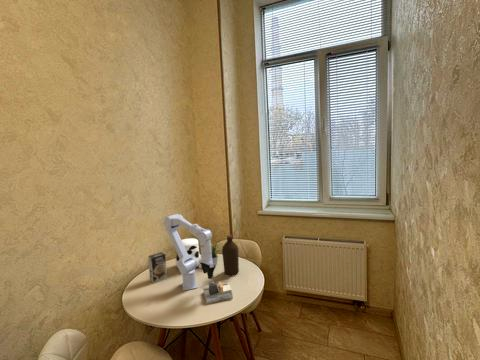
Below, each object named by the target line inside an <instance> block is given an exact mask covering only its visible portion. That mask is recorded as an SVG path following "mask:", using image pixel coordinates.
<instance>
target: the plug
mask: <svg viewBox="0 0 480 360" xmlns="http://www.w3.org/2000/svg"><path fill="white" fill-rule="evenodd" d="M208 287H209V293H210V295H212V294H217V283H216V282H215V281H211V282H210V283H208Z"/></svg>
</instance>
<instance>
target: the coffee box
mask: <svg viewBox="0 0 480 360" xmlns="http://www.w3.org/2000/svg"><path fill="white" fill-rule="evenodd" d="M147 257H148V271H149V281H150V282H151V283H153V284H155V283H158V282H160V281H163V280H166V279H168V275H167V273H168V272H167V271H168V270H167V261H166V259H167V258H166V253H164V252H157V253H154V254H150V255H148V256H147Z"/></svg>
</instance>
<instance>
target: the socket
mask: <svg viewBox="0 0 480 360" xmlns="http://www.w3.org/2000/svg"><path fill="white" fill-rule="evenodd" d="M221 284H222V286H224V285H229V283H221ZM202 290H203V296H204V298H205V303H206V305H208V304H213V303H217V302H221V301H227V300H233V297H234V296H233V291H227V292H222V293H221V292H220V289H219V284H218V285H217V294H212V295H210V293H209V286H208V287H203V288H202Z"/></svg>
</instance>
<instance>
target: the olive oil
mask: <svg viewBox="0 0 480 360" xmlns="http://www.w3.org/2000/svg"><path fill="white" fill-rule="evenodd" d="M221 252H222V262H223V263H222V264H223V272H224V275H225V274H226V275H225V276H228V275H229V277H231V276H232V275H234V276H236V274H237V273H238V272H240V271H239V270H240V268H239V264H240V263H239V247H238V245H237V244H236V243H235V242H234V241H233V236H232V234H227V235H226V242H225V243H224V244H223V246H222V248H221ZM238 274H239V273H238ZM238 274H237V275H238ZM232 277H233V276H232Z"/></svg>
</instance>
